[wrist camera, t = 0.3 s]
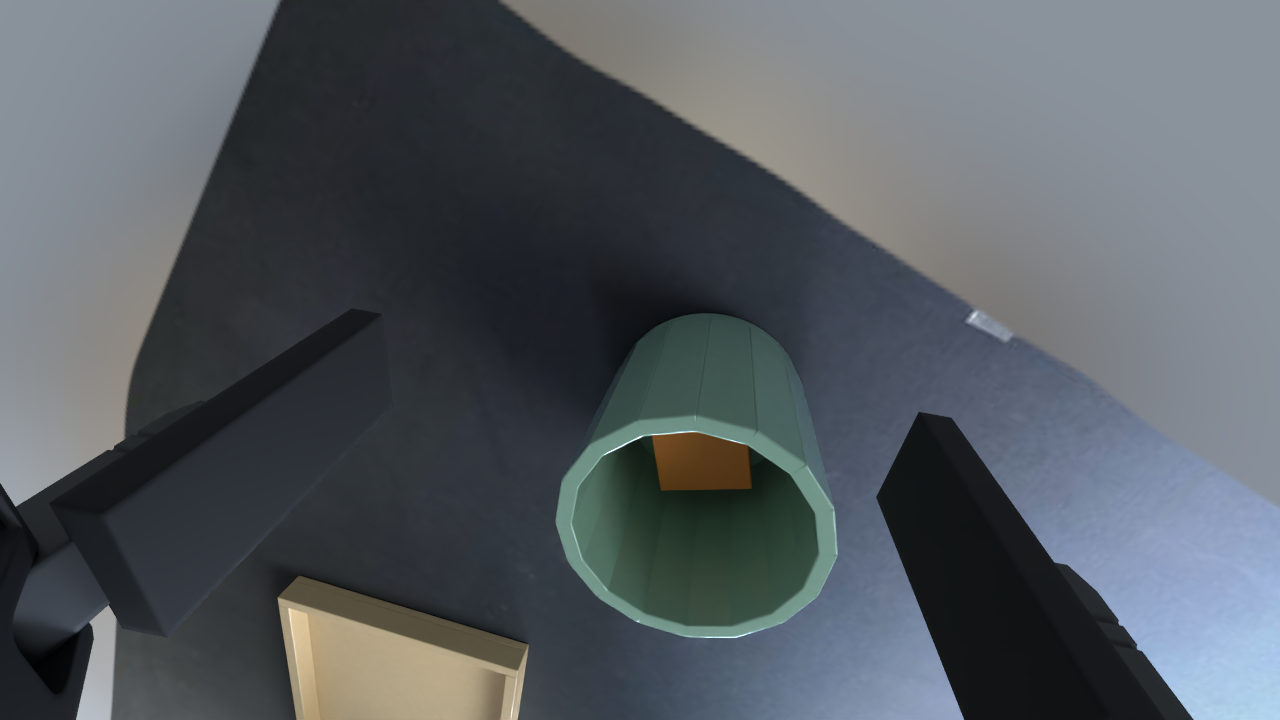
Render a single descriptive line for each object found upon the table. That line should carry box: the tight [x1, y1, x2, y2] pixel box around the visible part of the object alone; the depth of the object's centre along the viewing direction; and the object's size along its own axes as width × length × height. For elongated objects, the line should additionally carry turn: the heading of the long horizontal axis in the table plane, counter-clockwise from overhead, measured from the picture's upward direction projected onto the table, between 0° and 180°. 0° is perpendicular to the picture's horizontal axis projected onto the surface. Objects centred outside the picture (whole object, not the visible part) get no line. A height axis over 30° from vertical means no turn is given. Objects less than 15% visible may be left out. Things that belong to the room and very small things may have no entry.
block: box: [652, 432, 752, 491], centre depth 23 cm, size 4×4×4 cm
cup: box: [555, 313, 838, 638], centre depth 22 cm, size 9×9×10 cm
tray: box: [278, 576, 529, 720], centre depth 40 cm, size 22×18×2 cm
